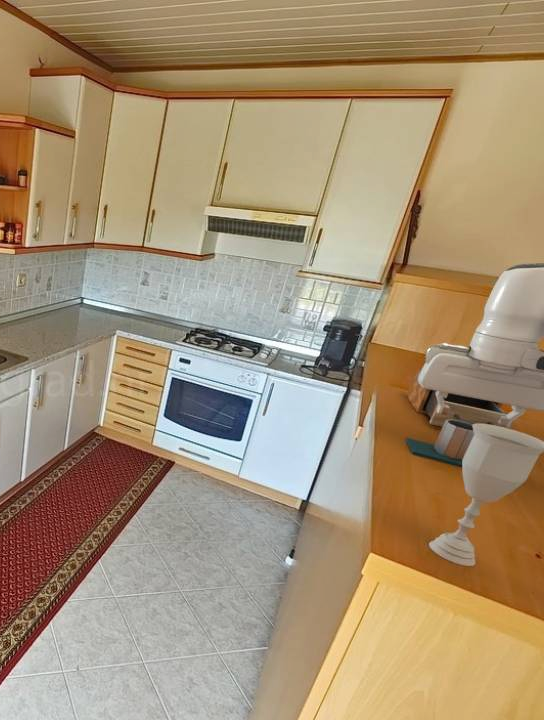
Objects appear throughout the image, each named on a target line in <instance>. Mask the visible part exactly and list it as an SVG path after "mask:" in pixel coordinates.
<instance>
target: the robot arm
mask: <svg viewBox="0 0 544 720" xmlns="http://www.w3.org/2000/svg"><path fill="white" fill-rule="evenodd" d="M543 338H544V263H543V262H538V263H523V264H521V263H520V264H517V265H513V266H511V267H509V268H507V269H505V270H504V271H503V272H502V273H501V274H500V276H499V277H498V279H497V280H496V281H495V284H494V286H493V288H492V290H491V292H490V294H489V296H488V298H487V301H486V304H485V305H484V310H483V318H482V320H481V322H480V323H479V325H478V326H477V327H476V329H475V331H474V334H473V336H472V339H471V340H470V344H469V345H468V346H467V345H461V344H450V343H447V342H440V343H438V344H433V345H431V346H430V347H429V348H428V349H427V351H426V354H425V356H424V357H425V358H424V359H425V363H424V365H423V366H422V368H421V372H420V374H419V377H418V382H419V384H420V385H421V386H422V387H423V388H425V389H430V390H435V391H436V397H437V400H438V403H439V405H438V408H437V411H436V412H437V413H438V414H443V415H447V414H448V411H449V410H450V407H449V405H446V404H444V400H443V398H447V395H448V393H451V394H456V395H461V396H466V397H472V398H477V399H482V400H487V401H492V402H498V403H503V404H502V405H509V406H511V410H512V411H510V412H509V413H507V415H506V416H499V418H498V419H499V420H498V421H497V425H498V426H500V427H505V428H509V427H510V425H511V423H512V421H513V420H514V421H516V419H518V418H520V417H522V416H523V415H525V414H526V412H527V409H530V410H535V411H540V412H544V350H543V349H539V348H538V346H539V344H540V342H541V340H542V339H543Z"/></svg>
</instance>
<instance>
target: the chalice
mask: <svg viewBox="0 0 544 720" xmlns="http://www.w3.org/2000/svg"><path fill="white" fill-rule="evenodd" d="M473 431H474V436H473V438H472V440H471V443H470V445H469V447H468V449H467V451H466V453H465V455H464V458H463V460H462V467H461V468H462V470H461V473H462V474H461V475H462V479H463V485H464V490H465V493H466V494H467V495H468V496H469V497H471V503H470V504H469V505H468V506H467V507H465V508H464V509H463V510H464V516H463V517H462V518H460V519H457V522H458V529H457V530H456V531H453V532H445V533H444V532H443V533H441V534H440V535H439V536H437V537H435V539H434V540H431V541H429V543H428V546H429V548H430V549H431V551H432V552H434V553H435V554H437V555H438V556H440V557H441V558H443V559H445V560H447V561H449V562H452V563H454V564H456V565H460V566H466V567H473V566H476V559H475V557H476V553H475V547H474V545H473V543H472V542H471V541H470V540H469V538H468V537H467V535H468V532H470V530H471V529H474V528H476V526H475V523H474V520H475V519H476V518H477V517H479V516H481V513H480V511H481V506H482V505H483V504H484V503H495V502H496V501H499V500H500V499H502V498H503V497H505V496H507V495H509V494H510V493H512V492H513V491H515V490H517V489H518V488H519V487H520V486H521V485H523V484H524V483H525V482H526V481H527V480H528V478H529V475H530V474H531V471H532V470H533V468H534V466H535V464H536V463H537V460H538V458H539V456H540V455H541V454H543V453H544V441H543V440H542V439H539V438H537V437H535V436H532V435H530V434H528V433H524V432H521V431H518V430H516V429H515V430H514V429H512V428H510V429H508V428H504V427H499V426H495V425H489V424H479V423H477V424H473Z"/></svg>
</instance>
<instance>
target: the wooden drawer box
mask: <svg viewBox="0 0 544 720" xmlns="http://www.w3.org/2000/svg"><path fill="white" fill-rule="evenodd" d="M443 400H444V404H446V405H449V407H450V410H449V411H448V414H447V415H443V414H438V413H437V412H436V411H437V408H438V405H439V403H438V400H437V397H436V391H435V390H430V392H429V395H428V397H427V399H426V402H425V404H424V409H425V410H426V412H427V413H428V415H427V416H429V418H430V420H429V424H430V425H433V426H437V427H441V428H442V427H443V425H444V423H445V420H449V419H452V420H458V421H463V422H466V423H470V424H472V425H473V424H477V423H479V424H489V425H495V426H498V425H497V421H498V420H499V419H498V418H499V416H506V415H508V413H507V412H506V411H505V410H503V409H502V407H501V408H500V407H499V406H498V405H497V404H495V403H494V402H492V401H487V400H482V399H477V398H472V397H466V396H461V395H456V394H451V393H448V395H447V398H443ZM514 423H515V420H513V421H512V423H511V425H510V427H509V428H508V429H512V426H513V424H514ZM499 427H500V426H499ZM504 428H505V427H504Z"/></svg>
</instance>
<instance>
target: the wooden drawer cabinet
mask: <svg viewBox="0 0 544 720" xmlns="http://www.w3.org/2000/svg"><path fill="white" fill-rule="evenodd" d="M420 372H421V371H420V370H417V371H416V373H415V375H414V378H413V381H412V383H411V386H410V388H409V390H408V394H407V395H406V397H407V398H408V400H409V402H410V403H411V405H412V407H413V408H414V410H415V411H416V413H417V414H422V415H427V416H429V415H428V413H427V412H426V410H425V409H424V404H425V402H426V399H427V397H428V395H429V392H430V389H425V388H423V387H422V386H421V385H420V384H419V382H418V377H419V374H420ZM494 403H495V404H497V405H498V406H499V407H500V408H501V409H502V406H503V405H504V404H503V403H498V402H494Z"/></svg>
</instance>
